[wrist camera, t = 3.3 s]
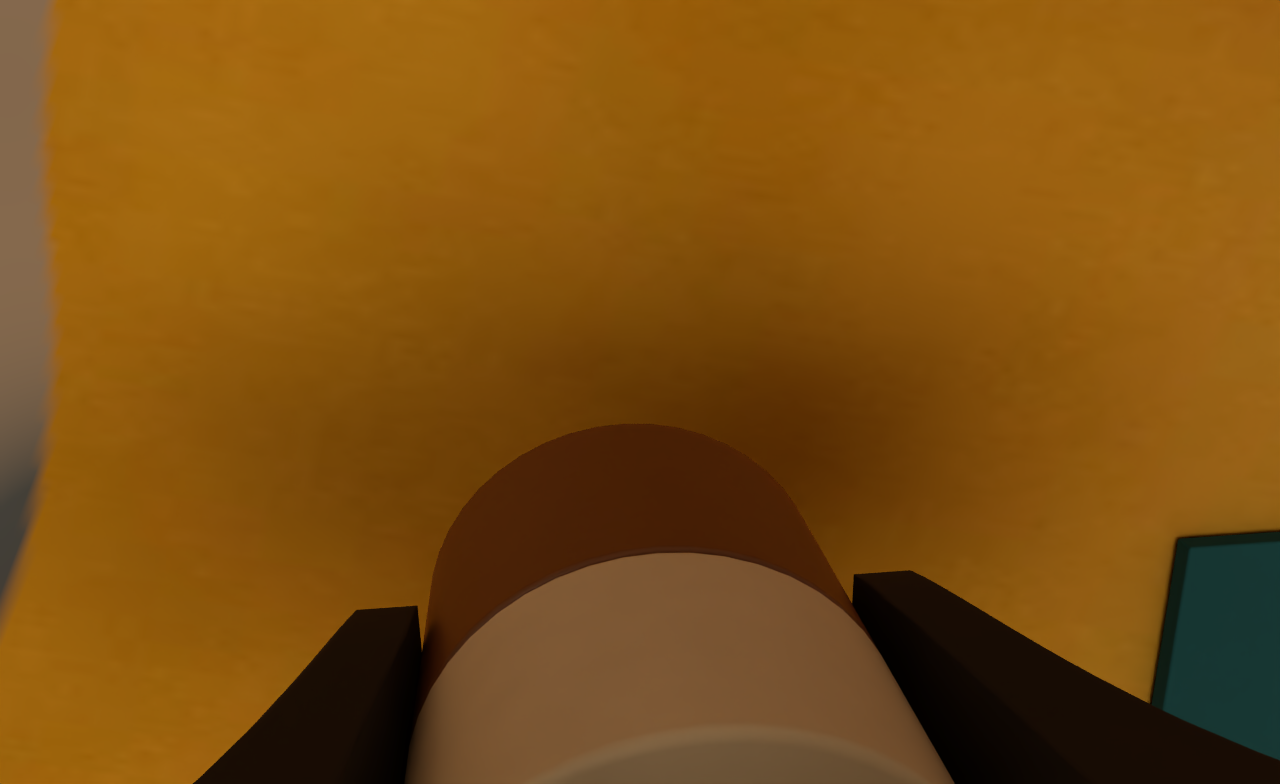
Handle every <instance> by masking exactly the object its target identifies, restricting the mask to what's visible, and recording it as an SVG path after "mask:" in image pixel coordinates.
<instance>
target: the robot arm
mask: <svg viewBox="0 0 1280 784" xmlns="http://www.w3.org/2000/svg"><path fill="white" fill-rule="evenodd" d="M852 605H853V607H854V608H855V610H856V612H857V614H858V615H859V617H860V619H861V621H862V622H863V624H864V626H865V628H866V629H867V631H868V633H869V635H870V636H871V638H872V640H873V642H874V643H875V645H876V647H877V649H878V651H879V652H880V654H881V656H882V657H883V659H884V661H885V663H886V664H887V666H888V668H889V670H890V671H891V673H892V675H893V677H894V678H895V680H896V682H897V683H898V685H899V687H900V689H901V690H902V692H903V694H904V696H905V697H906V699H907V701H908V703H909V704H910V706H911V708H912V710H913V711H914V713H915V715H916V717H917V718H918V720H919V722H920V724H921V725H922V727H923V729H924V731H925V732H926V734H927V736H928V738H929V739H930V741H931V743H932V745H933V746H934V748H935V750H936V752H937V753H938V755H939V757H940V759H941V760H942V762H943V764H944V766H945V767H946V769H947V771H948V773H949V774H950V776H951V778H952V780H953V781H954V783H955V784H1280V760H1278V759H1275V758H1273V757H1270V756H1267V755H1265V754H1262V753H1260V752H1257V751H1255V750H1252V749H1250V748H1247V747H1245V746H1243V745H1240V744H1238V743H1236V742H1233V741H1231V740H1229V739H1226V738H1224V737H1222V736H1219V735H1217V734H1215V733H1212V732H1210V731H1208V730H1205V729H1203V728H1201V727H1198V726H1196V725H1194V724H1191V723H1189V722H1187V721H1184V720H1182V719H1180V718H1178V717H1176V716H1174V715H1172V714H1169V713H1167V712H1165V711H1163V710H1161V709H1159V708H1157V707H1155V706H1153V705H1151V704H1148V703H1147V702H1145V701H1143V700H1141V699H1139V698H1137V697H1135V696H1133V695H1131V694H1129V693H1127V692H1125V691H1123V690H1121V689H1119V688H1117V687H1115V686H1113V685H1112V684H1110V683H1108V682H1106V681H1104V680H1102V679H1100V678H1098V677H1096V676H1094V675H1092V674H1090V673H1089V672H1087V671H1085V670H1083V669H1081V668H1080V667H1078V666H1076V665H1074V664H1072V663H1070V662H1069V661H1067V660H1065V659H1063V658H1061V657H1060V656H1058V655H1056V654H1054V653H1053V652H1051V651H1049V650H1047V649H1046V648H1044V647H1042V646H1041V645H1039V644H1037V643H1035V642H1034V641H1032V640H1030V639H1029V638H1027V637H1025V636H1023V635H1022V634H1020V633H1018V632H1017V631H1015V630H1013V629H1012V628H1010V627H1008V626H1007V625H1005V624H1003V623H1002V622H1000V621H998V620H997V619H995V618H993V617H992V616H990V615H988V614H987V613H985V612H983V611H982V610H980V609H978V608H977V607H975V606H973V605H972V604H970V603H968V602H967V601H965V600H963V599H962V598H960V597H958V596H957V595H955V594H953V593H952V592H950V591H948V590H946V589H945V588H943V587H941V586H940V585H938V584H936V583H934V582H932V581H931V580H929V579H927V578H925V577H923V576H921V575H919V574H917V573H915V572H913V571H910V570H909V571H895V572H881V573H867V574H854V582H853V601H852ZM421 657H422V649H421V638H420V628H419V617H418V607H417V606H406V607H392V608H378V609H364V610H356V611H355V612H354V613H353V614H352V615H351V616H350V617H349V618H348V620H347V621H346V622H345V623H344V624H343V625H342V626H341V627H340V628H339V629H338V631H337V632H336V633H335V634H334V635H333V636H332V638H331V639H330V640H329V641H328V642H327V644H326V645H325V646H324V647H323V648H322V649H321V651H320V652H319V653H318V654H317V655H316V656H315V658H314V659H313V660H312V661H311V662H310V663H309V665H308V666H307V667H306V668H305V669H304V670H303V671H302V673H301V674H300V675H299V676H298V677H297V678H296V679H295V681H294V682H293V683H292V684H291V685H290V686H289V687H288V688H287V689H286V691H285V692H284V693H283V694H282V695H281V696H280V697H279V698H278V699H277V700H276V701H275V702H274V704H273V705H272V706H271V707H270V708H269V709H268V710H267V711H266V712H265V713H264V714H263V715H262V717H261V718H260V719H259V720H258V721H257V722H256V723H255V724H254V725H253V726H252V727H251V728H250V729H249V730H248V731H247V732H246V733H245V734H244V735H243V736H242V737H241V738H240V739H239V740H238V741H237V742H236V743H235V744H234V745H233V746H232V747H231V748H230V749H229V750H228V751H227V752H226V753H225V754H224V755H223V756H222V757H221V758H220V759H219V760H218V761H217V762H216V763H215V764H213V765H212V766H211V767H210V768H209V769H208V770H207V771H206V772H205V773H204V774H203V775H202V776H201V777H200V778H199V779H198V780H197V781H196V782H194V783H193V784H404V781H405V774H406V766H407V759H408V752H409V745H410V737H411V730H412V722H413V715H414V708H415V700H416V693H417V686H418V679H419V671H420V664H421Z"/></svg>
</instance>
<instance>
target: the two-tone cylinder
mask: <svg viewBox="0 0 1280 784" xmlns="http://www.w3.org/2000/svg"><path fill="white" fill-rule="evenodd" d="M404 784H955V783H954V781H953V780H952V778H951V776H950V774H949V773H948V771H947V769H946V767H945V766H944V764H943V762H942V760H941V759H940V757H939V755H938V753H937V752H936V750H935V748H934V746H933V745H932V743H931V741H930V739H929V738H928V736H927V734H926V732H925V731H924V729H923V727H922V725H921V724H920V722H919V720H918V718H917V717H916V715H915V713H914V711H913V710H912V708H911V706H910V704H909V703H908V701H907V699H906V697H905V696H904V694H903V692H902V690H901V689H900V687H899V685H898V683H897V682H896V680H895V678H894V677H893V675H892V673H891V671H890V670H889V668H888V666H887V664H886V663H885V661H884V659H883V657H882V656H881V654H880V652H879V651H878V649H877V647H876V645H875V643H874V642H873V640H872V638H871V636H870V635H869V633H868V631H867V629H866V628H865V626H864V624H863V622H862V621H861V619H860V617H859V615H858V614H857V612H856V610H855V608H854V607H853V605H852V603H851V601H850V600H849V598H848V596H847V594H846V593H845V591H844V589H843V587H842V586H841V584H840V582H839V580H838V579H837V577H836V575H835V573H834V572H833V570H832V568H831V566H830V565H829V563H828V561H827V560H826V558H825V556H824V554H823V553H822V551H821V549H820V547H819V546H818V544H817V542H816V540H815V539H814V537H813V535H812V533H811V532H810V530H809V528H808V526H807V525H806V523H805V521H804V519H803V518H802V516H801V514H800V512H799V511H798V509H797V507H796V506H795V504H794V503H793V502H792V500H791V499H790V497H789V496H788V495H787V493H786V492H785V490H784V489H783V488H782V487H781V486H780V485H779V484H778V483H777V482H776V481H775V480H774V478H773V477H772V476H771V475H770V474H769V473H768V472H767V471H766V470H764V469H763V468H762V467H760V466H759V465H758V464H757V463H755V462H754V461H753V460H751V459H750V458H749V457H747V456H746V455H744V454H742V453H741V452H739V451H737V450H735V449H734V448H732V447H730V446H728V445H727V444H725V443H722V442H720V441H717V440H715V439H713V438H710V437H708V436H705V435H703V434H700V433H696V432H692V431H688V430H684V429H680V428H677V427H669V426H661V425H654V424H618V425H610V426H601V427H595V428H590V429H586V430H582V431H578V432H574V433H570V434H567V435H565V436H562V437H559V438H557V439H554V440H551V441H549V442H546V443H544V444H542V445H540V446H538V447H536V448H534V449H532V450H530V451H529V452H527V453H525V454H523V455H521V456H519V457H518V458H517V459H515V460H514V461H512V462H511V463H509V464H508V465H507V466H505V467H504V468H502V469H501V470H499V471H498V472H497V473H496V474H495V475H494V476H493V477H492V478H490V479H489V480H488V481H487V482H486V483H485V484H484V485H483V486H482V487H481V488H479V490H478V491H477V492H476V493H475V494H474V496H473V497H472V498H471V499H470V500H469V501H468V503H467V504H466V505H465V506H464V507H463V509H462V510H461V512H460V513H459V515H458V517H457V518H456V520H455V521H454V523H453V525H452V526H451V528H450V529H449V531H448V534H447V536H446V538H445V540H444V542H443V545H442V547H441V549H440V551H439V555H438V558H437V561H436V565H435V568H434V572H433V576H432V583H431V591H430V598H429V605H428V613H427V620H426V627H425V635H424V642H423V649H422V657H421V664H420V671H419V679H418V686H417V693H416V700H415V708H414V715H413V722H412V730H411V737H410V745H409V752H408V759H407V766H406V774H405V781H404Z"/></svg>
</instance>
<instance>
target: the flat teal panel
mask: <svg viewBox="0 0 1280 784" xmlns="http://www.w3.org/2000/svg"><path fill="white" fill-rule="evenodd" d="M1151 705H1153V706H1155V707H1157V708H1159V709H1161V710H1163V711H1165V712H1167V713H1169V714H1172V715H1174V716H1176V717H1178V718H1180V719H1182V720H1184V721H1187V722H1189V723H1191V724H1194V725H1196V726H1198V727H1201V728H1203V729H1205V730H1208V731H1210V732H1212V733H1215V734H1217V735H1219V736H1222V737H1224V738H1226V739H1229V740H1231V741H1233V742H1236V743H1238V744H1240V745H1243V746H1245V747H1247V748H1250V749H1252V750H1255V751H1257V752H1260V753H1262V754H1265V755H1267V756H1270V757H1273V758H1275V759H1278V760H1280V532H1268V533H1254V534H1239V535H1225V536H1210V537H1196V538H1181V539H1179V540H1178V544H1177V550H1176V556H1175V562H1174V568H1173V575H1172V581H1171V587H1170V593H1169V599H1168V605H1167V612H1166V618H1165V624H1164V630H1163V636H1162V642H1161V649H1160V655H1159V661H1158V667H1157V673H1156V680H1155V686H1154V692H1153V698H1152V704H1151Z"/></svg>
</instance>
